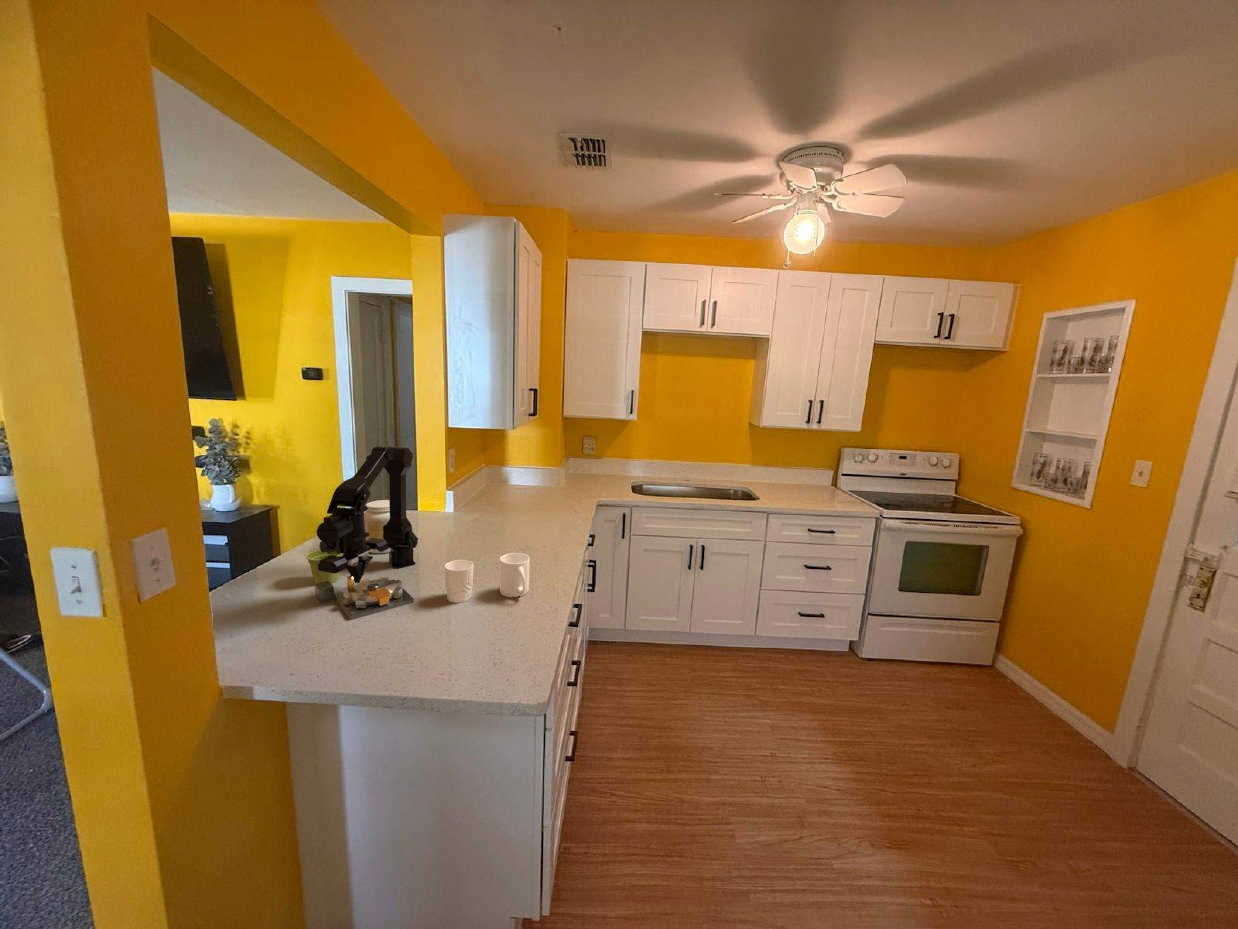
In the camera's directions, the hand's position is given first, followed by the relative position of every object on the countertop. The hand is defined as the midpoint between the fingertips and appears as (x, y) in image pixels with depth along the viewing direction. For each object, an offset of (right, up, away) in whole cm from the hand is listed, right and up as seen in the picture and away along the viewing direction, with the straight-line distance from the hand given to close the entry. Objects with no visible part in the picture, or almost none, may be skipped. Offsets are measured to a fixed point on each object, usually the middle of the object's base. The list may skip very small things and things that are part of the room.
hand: (357, 583), depth 129 cm
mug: (+43, -6, +8) cm, 44 cm away
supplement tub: (-12, +3, +38) cm, 39 cm away
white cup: (+27, -5, +4) cm, 28 cm away
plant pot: (-15, -2, +10) cm, 18 cm away
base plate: (+5, -5, 0) cm, 7 cm away
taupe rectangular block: (-9, -4, -1) cm, 10 cm away
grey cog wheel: (+5, -3, 0) cm, 6 cm away
